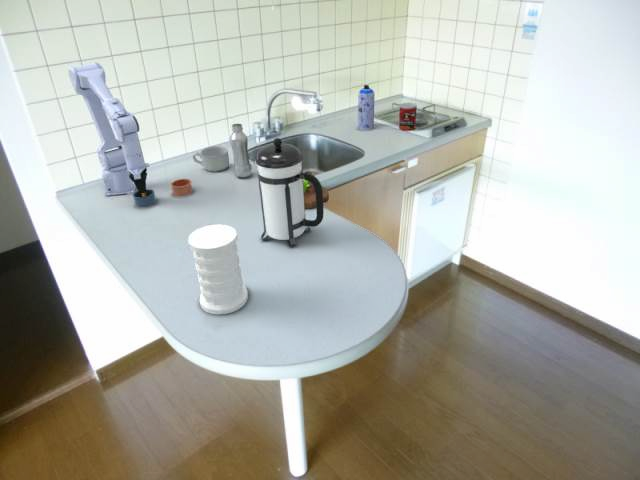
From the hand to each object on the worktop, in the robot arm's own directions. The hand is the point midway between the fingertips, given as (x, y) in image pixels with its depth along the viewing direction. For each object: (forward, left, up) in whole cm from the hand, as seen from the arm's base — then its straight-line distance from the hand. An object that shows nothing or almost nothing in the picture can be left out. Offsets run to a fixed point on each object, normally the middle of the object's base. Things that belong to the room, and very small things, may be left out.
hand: (142, 190), depth 159 cm
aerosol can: (+93, +60, -5) cm, 111 cm away
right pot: (+12, +6, -5) cm, 14 cm away
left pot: (0, 0, -5) cm, 5 cm away
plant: (+52, -8, -5) cm, 53 cm away
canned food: (+112, +54, -5) cm, 124 cm away
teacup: (+22, +26, -5) cm, 34 cm away
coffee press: (+47, -33, -5) cm, 58 cm away
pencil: (0, 0, -4) cm, 4 cm away
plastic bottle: (+34, +16, -5) cm, 38 cm away
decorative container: (+28, -60, -5) cm, 66 cm away
